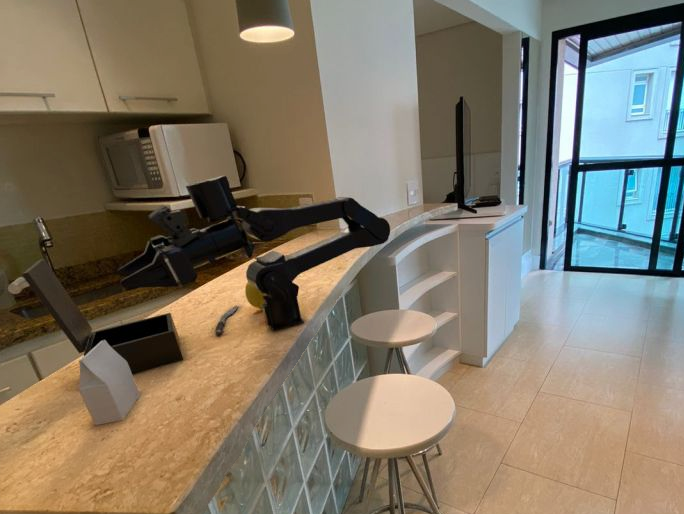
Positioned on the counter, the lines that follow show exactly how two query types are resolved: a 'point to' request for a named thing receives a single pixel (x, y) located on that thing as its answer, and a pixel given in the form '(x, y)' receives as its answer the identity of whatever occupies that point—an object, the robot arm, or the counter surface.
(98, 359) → the grey angular block
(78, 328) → the box lid
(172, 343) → the black open box
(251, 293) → the lemon
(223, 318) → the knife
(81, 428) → the counter surface
